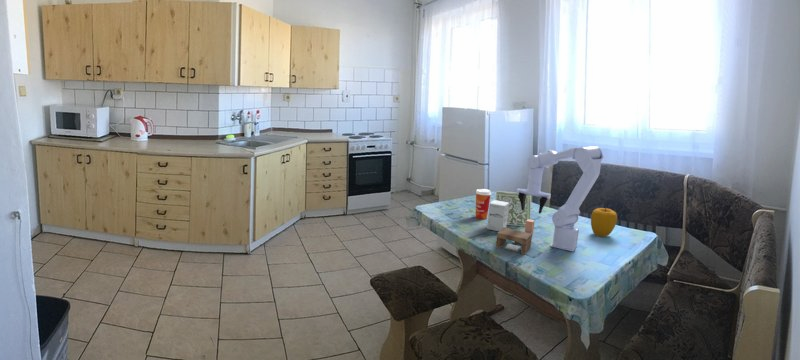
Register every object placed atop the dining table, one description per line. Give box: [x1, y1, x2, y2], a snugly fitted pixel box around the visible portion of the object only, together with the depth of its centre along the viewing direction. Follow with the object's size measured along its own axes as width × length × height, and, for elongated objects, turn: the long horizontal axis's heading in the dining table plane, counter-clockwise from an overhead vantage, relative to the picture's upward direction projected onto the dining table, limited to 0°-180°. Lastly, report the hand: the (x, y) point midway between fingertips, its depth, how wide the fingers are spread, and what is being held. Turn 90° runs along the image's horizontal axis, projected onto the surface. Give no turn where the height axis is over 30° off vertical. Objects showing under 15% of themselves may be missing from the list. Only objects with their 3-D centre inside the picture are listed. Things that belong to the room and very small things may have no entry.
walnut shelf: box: [495, 227, 533, 255], centre depth 185 cm, size 12×8×6 cm, turn 59°
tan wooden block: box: [513, 218, 536, 245], centre depth 198 cm, size 3×18×6 cm, turn 149°
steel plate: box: [504, 243, 522, 252], centre depth 185 cm, size 5×5×1 cm
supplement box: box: [486, 199, 510, 232], centre depth 207 cm, size 7×7×13 cm
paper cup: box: [475, 188, 492, 221], centre depth 222 cm, size 8×8×14 cm
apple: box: [590, 207, 618, 238], centre depth 204 cm, size 11×11×13 cm
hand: (531, 211), depth 202 cm, fingers open, 7 cm apart
